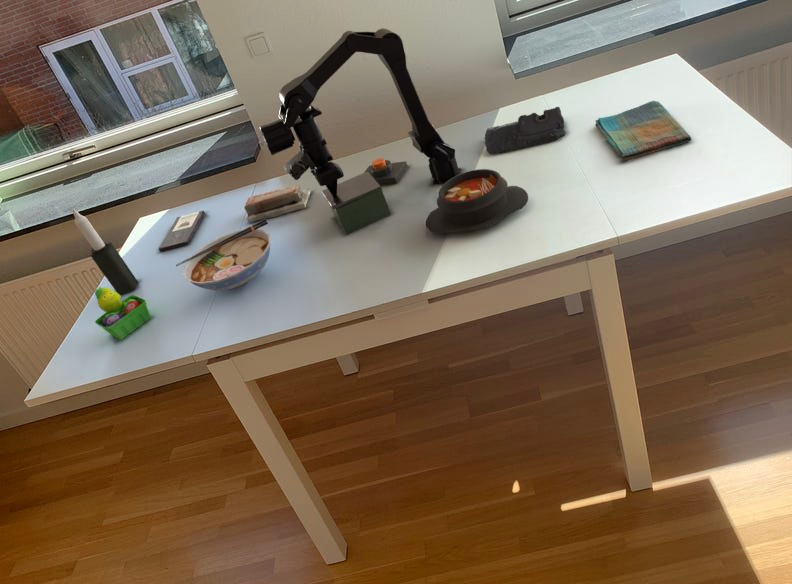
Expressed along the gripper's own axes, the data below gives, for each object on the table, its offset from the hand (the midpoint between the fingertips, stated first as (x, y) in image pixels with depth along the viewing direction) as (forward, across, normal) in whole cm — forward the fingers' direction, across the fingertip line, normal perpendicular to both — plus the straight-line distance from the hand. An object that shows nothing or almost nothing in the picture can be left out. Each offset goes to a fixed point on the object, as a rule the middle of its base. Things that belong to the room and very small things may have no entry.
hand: (334, 195), depth 178 cm
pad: (+8, -17, +16) cm, 25 cm away
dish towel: (+8, +23, +74) cm, 78 cm away
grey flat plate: (+1, 0, +4) cm, 4 cm away
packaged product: (+8, -27, -13) cm, 31 cm away
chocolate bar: (+8, -40, -42) cm, 58 cm away
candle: (+9, -19, -60) cm, 63 cm away
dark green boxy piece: (+8, 0, +5) cm, 10 cm away
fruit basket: (+9, +2, -60) cm, 60 cm away
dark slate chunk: (+8, -3, +55) cm, 56 cm away
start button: (+5, -17, +16) cm, 24 cm away
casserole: (+8, +26, +27) cm, 38 cm away
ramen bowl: (+9, +3, -30) cm, 32 cm away
